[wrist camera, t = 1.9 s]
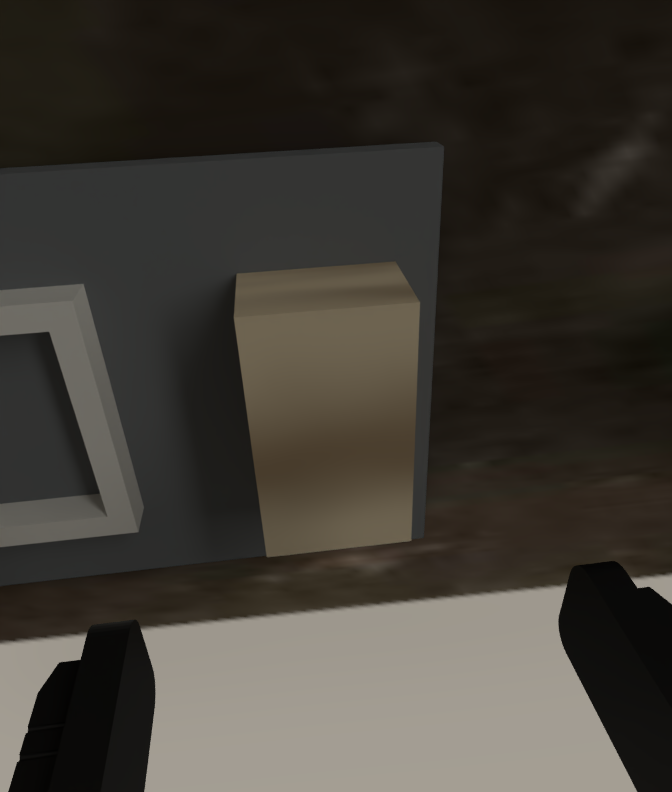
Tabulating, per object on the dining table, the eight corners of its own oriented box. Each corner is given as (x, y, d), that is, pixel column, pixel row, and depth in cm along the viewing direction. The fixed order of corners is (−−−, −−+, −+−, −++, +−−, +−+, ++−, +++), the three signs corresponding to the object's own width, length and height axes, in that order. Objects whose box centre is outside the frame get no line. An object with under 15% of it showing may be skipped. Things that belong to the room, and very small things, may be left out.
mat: (436, 141, 16) (444, 146, 16) (418, 523, 24) (423, 537, 23) (-450, 196, 15) (-485, 204, 14) (-175, 589, 22) (-188, 607, 21)
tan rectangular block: (236, 273, 17) (233, 317, 14) (395, 261, 17) (419, 302, 15) (265, 493, 21) (266, 557, 19) (392, 480, 21) (411, 540, 19)
